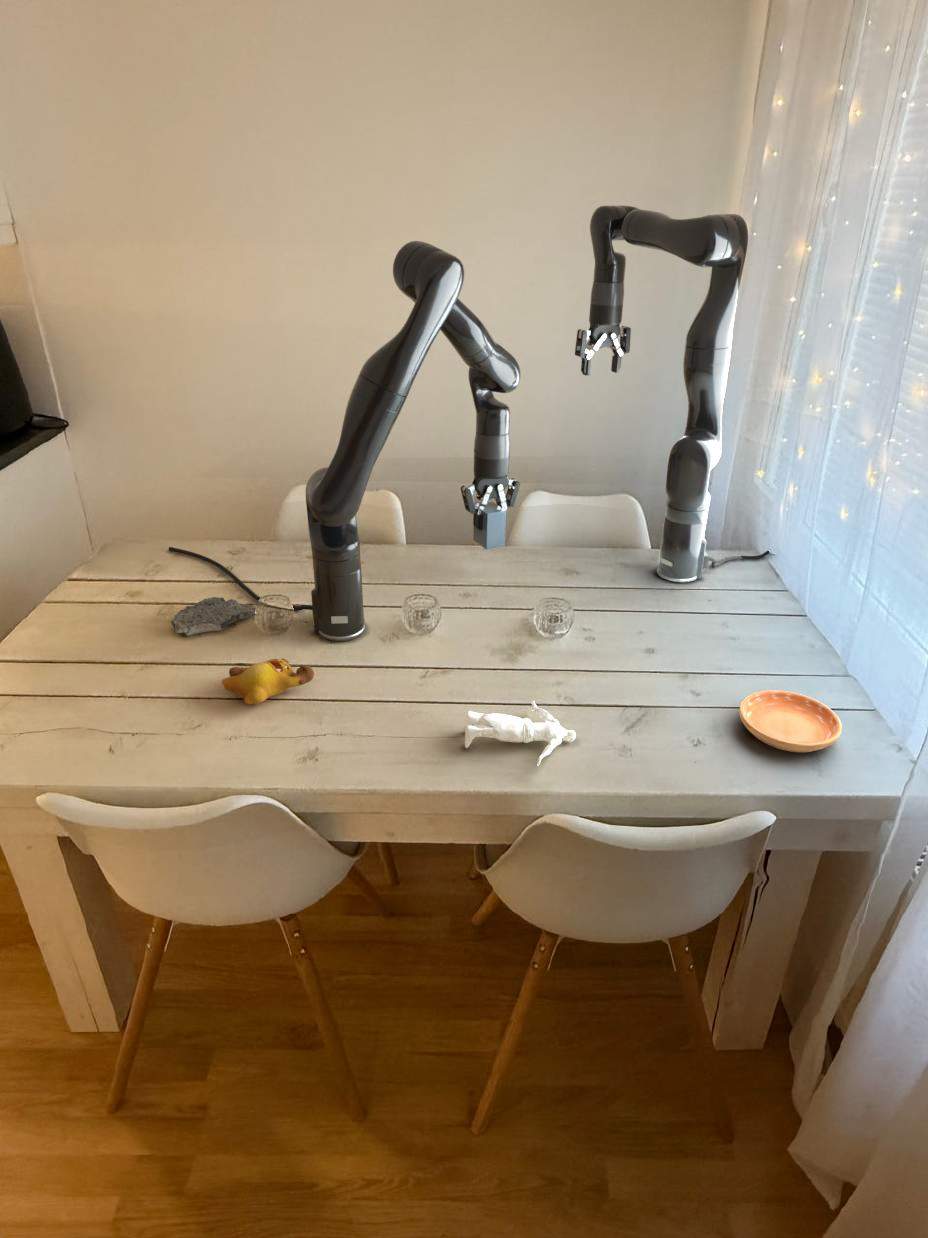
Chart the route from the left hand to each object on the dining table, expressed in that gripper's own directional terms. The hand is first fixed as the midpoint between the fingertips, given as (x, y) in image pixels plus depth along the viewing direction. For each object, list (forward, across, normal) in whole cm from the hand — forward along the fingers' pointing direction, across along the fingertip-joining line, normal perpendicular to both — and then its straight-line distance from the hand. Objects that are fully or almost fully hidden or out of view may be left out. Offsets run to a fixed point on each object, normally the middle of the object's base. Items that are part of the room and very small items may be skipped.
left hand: (489, 527), depth 181 cm
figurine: (+13, -25, -56) cm, 63 cm away
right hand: (-27, +38, +16) cm, 50 cm away
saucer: (+13, +17, -74) cm, 77 cm away
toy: (+13, -57, -24) cm, 64 cm away
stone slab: (+13, -61, +6) cm, 63 cm away
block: (+4, 0, 0) cm, 4 cm away
